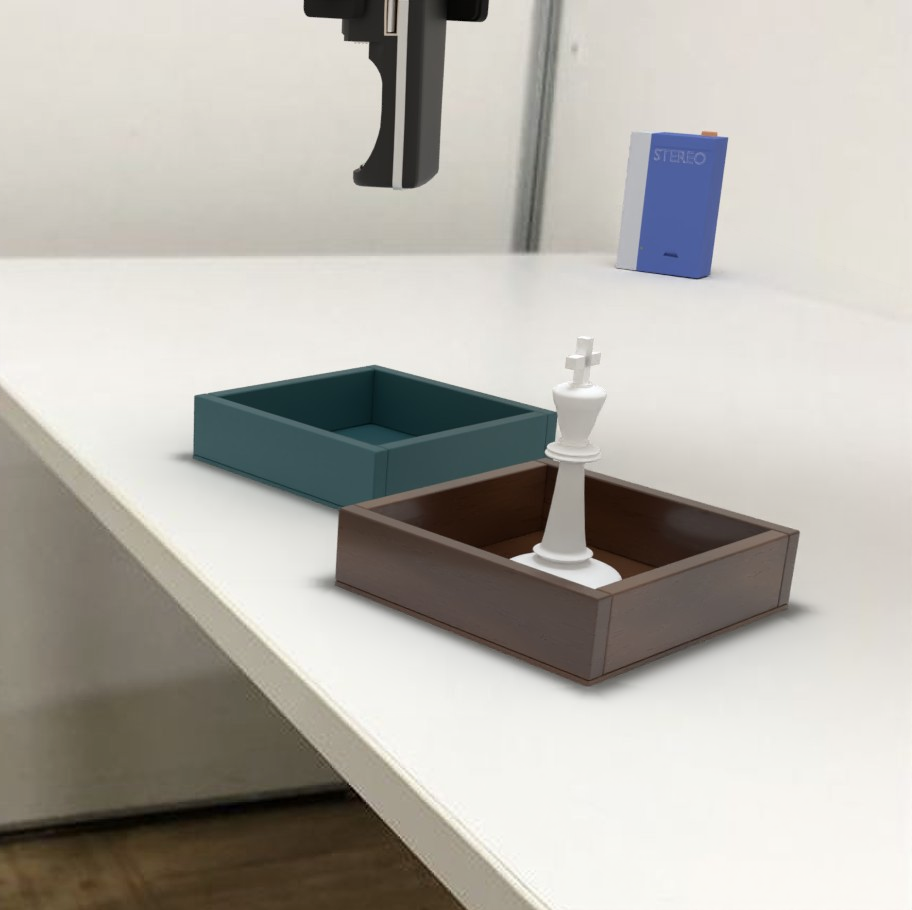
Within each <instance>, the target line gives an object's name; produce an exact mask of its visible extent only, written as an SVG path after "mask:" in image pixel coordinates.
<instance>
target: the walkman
mask: <svg viewBox="0 0 912 910" xmlns="http://www.w3.org/2000/svg"><path fill="white" fill-rule="evenodd" d="M728 144H729V137H728V136H719V135H718V131H711V130H710V131H709V130H708V131H707V130H702V131H701V132H700V134H695V133H682V132H669V131H660V130H659V131H657V130H647V129H646V130H634V131H631V133H630V143H629V148H628V150H629V151H628V159H627V167H626V177H625V181H624V189H623V190H624V191H623V199H622V200H623V201H622V209H621V218H620V225H619V237H618V246H617V255H616V262H615V263H616V264H615V268H616V269H623V270H631V271H636V272H645V273H653V274H661V275H667V276H677V277H684V278H692V279H700V278H705V277H707V276H710V275H711V273H712V272H711V271H712V263H713V256H714V251H715V250H714V248H715V241H716V235H717V234H716V233H717V225H718V219H719V212H720V203H721V197H722V188H723V181H724V174H725V168H726V167H725V166H726V160H727V159H726V158H727V150H728Z"/></svg>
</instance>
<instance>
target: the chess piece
mask: <svg viewBox="0 0 912 910" xmlns="http://www.w3.org/2000/svg"><path fill="white" fill-rule="evenodd" d="M594 339H595V338H594V337H591V336H585V335H583V336H578V337H576V347H575V354H572V355H568V356H565V365H564V369H566V370H572V371H573V375H572V379H571V380H569V381H566V382H561V383H559V384H556V385H555V386H554V387H553V388H552V398H553V404H554V406H555V412H557V415H558V418H557V424H558V426H559V431H560V434H561V437H559V439H558V440H557V441H556V440H555V442H552V443H550V444H548V445H547V449H546V450H545V454H546V455H547V456H548V457H550V458H552V459H553V460H555V461H559V462H560V464H559V470H558V474H557V479H556V485H555V490H554V495H553V499H552V504H551V508H550V512H549V516H548V520H547V525H546V529H545V532H544V536H543V539H542V542H541V543H539V544H537V545H535V546H534V547H533V551H534V552H535V553H528V554H523V555H519V556H516V557H513V558H511V559H510V560H513V561H515V562H518V563H521V564H524V565H527V566H530V567H533V568H536V569H538V570H541V571H544V572H547V573H550V574H553V575H556V576H558V577H561V578H564V579H567V580H570V581H573V582H576V583H579V584H581V585H584V586H587V587H590V588H593V589H596V588H599V587H602V586H605V585H608V584H611V583H614V582H617V581H620V580H622V578H621V576H620V574H619V573H618V572H617V571H616V570H615V569H613V568H612V567H611V566H609V565H607V564H605V563H603V562H601V561H598V560H596V559H593V558H591V557H592V556H593V552H592V551H591V550H590V549H589V548H587V547H586V541H585V515H584V469H585V465H586V464H589V463H594V462H597V461H599V460H601V458H602V457H603V456H602V454H601V449H600V447H598V445H595V444H592V443H591V441H590V440H589V438H590V435H591V433H592V431H593V429H594V427H595V425H596V421H597V419H598V416H599V415H600V412H601V410H602V408H603V406H604V404H605V402H606V400H607V395H608V393H607V391H606V390H605V389H604V388H603V387H601V386H600V385H598V384H594V383H593V382H592V381H590V376H591V369H592V367H594V366H598V365H600V364H601V357H602V356H601V355H602V353H601V352H600V351H595V350H594V349H593V348H594Z"/></svg>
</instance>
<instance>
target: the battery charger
mask: <svg viewBox="0 0 912 910" xmlns="http://www.w3.org/2000/svg"><path fill="white" fill-rule="evenodd" d="M447 4H448V0H365V7H364V13H363V15H362V16H361V17H360V18H359V19H356V20H353V19H341V34H342V35H343V42H352V43H353V44H355V45H356V44H362V45H364V44H366V45H367V44H368V60H370V61H371V63H373V65H374V66H375V68H376V69H377V71H378V73H379V76H380V79H381V111H380V123H379V124H380V125H379V129H378V134H377V137H376V140H375V143H374V146H373V149H372V151H371V153H370V155H368V156H369V157H368V158H367V160H366V161H365V162H364V163H361V164H359V167H358V168H356V169H354V170H353V171H352V180H353V183H354V184H355V186H358V187H366V188H381V189H382V188H384V189H392V190H393V191H407V190H412V189H416V188H421V186H424V185H426V184H428V183H429V182H430V181H432V180H433V178H435V176H436V175H437V174H438V173H439V169H440V152H441V132H442V131H441V130H442V112H443V111H442V110H443V94H444V80H445V79H444V77H445V75H444V74H445V61H446V59H445V58H446V41H447V40H446V39H447V24H448V23H447Z"/></svg>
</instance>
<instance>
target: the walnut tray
mask: <svg viewBox="0 0 912 910" xmlns="http://www.w3.org/2000/svg"><path fill="white" fill-rule="evenodd" d="M559 464H560V461H558V460H555V459H553V460H552V459H548V458H542V459H538V460H535V461H530V462H526V463H522V464H517V465H513V466H509V467H505V468H501V469H497V470H493V471H489V472H485V473H480V474H476V475H472V476H468V477H464V478H460V479H456V480H452V481H448V482H444V483H439V484H435V485H431V486H427V487H423V488H419V489H415V490H411V491H407V492H403V493H398V494H394V495H390V496H386V497H382V498H378V499H374V500H370V501H366V502H362V503H357V504H354V505H349V506H345V507H341V508H339V510H338V515H337V516H338V518H337V536H336V539H337V541H336V557H335V573H334V579H335V581H334V586H336V587H338V588H341V589H344V590H346V591H349V592H351V593H354V594H356V595H358V596H361V597H363V598H366V599H369V600H371V601H373V602H376V603H379V604H381V605H383V606H385V607H389V608H391V609H393V610H396V611H398V612H400V613H403V614H405V615H408V616H411V617H413V618H416V619H418V620H421V621H423V622H426V623H428V624H430V625H433V626H436V627H438V628H441V629H443V630H445V631H448V632H451V633H452V634H456V635H458V636H460V637H463V638H464V639H465V638H466V639H468V640H470V641H473V642H475V643H478V644H480V645H482V646H485V647H488V648H490V649H492V650H495V651H497V652H500V653H503V654H505V655H508V656H509V657H510V656H511V657H513V658H515V659H517V660H520V661H523V662H525V663H528V664H530V665H533V666H535V667H537V668H540V669H542V670H545V671H547V672H549V673H553V674H555V675H558V676H560V677H562V678H565V679H568V680H570V681H571V682H572V681H573V682H575V683H577V684H579V685H582V686H585V687H592V686H594V685H596V684H599V683H602V682H604V681H607V680H609V679H611V678H614V677H617V676H619V675H622V674H625V673H627V672H630V671H632V670H634V669H637V668H640V667H642V666H645V665H647V664H650V663H652V662H655V661H658V660H660V659H663V658H665V657H669V656H670V655H673V654H676V653H678V652H681V651H683V650H685V649H688V648H690V647H694V646H696V645H698V644H700V643H701V644H702V643H703V642H706V641H709V640H712V639H714V638H716V637H719V636H721V635H723V634H726V633H729V632H732V631H734V630H737V629H739V628H741V627H744V626H746V625H749V624H751V623H752V624H753V623H754V622H757V621H759V620H762V619H764V618H767V617H769V616H772V615H775V614H778V613H780V612H782V611H785V610H788V609H789V604H788V603H789V601H790V596H791V590H792V585H793V584H792V583H793V578H794V571H795V565H796V559H797V553H798V548H799V547H798V546H799V541H800V534H801V531H800V530H798V529H795V528H791V527H789V526H785V525H782V524H778V523H775V522H771V521H767V520H763V519H761V518H756V517H753V516H750V515H747V514H743V513H740V512H736V511H732V510H730V509H726V508H722V507H718V506H715V505H711V504H708V503H706V502H705V503H704V502H702V501H698V500H694V499H691V498H687V497H684V496H680V495H677V494H673V493H670V492H666V491H663V490H659V489H656V488H652V487H649V486H647V485H642V484H639V483H635V482H631V481H628V480H625V479H622V478H618V477H614V476H611V475H607V474H604V473H600V472H597V471H594V470H590V469H587V468H584V515H585V541H586V547H587V548H589V549H590V550H591V551H592V552H593V556H592V557H591V558H593V559H596V560H598V561H601V562H603V563H605V564H607V565H609V566H611V567H612V568H613V569H615V570H616V571H617V572H618V573H619V574H620V576H621V578H622V580H620V581H617V582H614V583H611V584H608V585H605V586H602V587H599V588H596V589H593V588H590V587H587V586H584V585H581V584H579V583H576V582H573V581H570V580H567V579H564V578H561V577H558V576H556V575H553V574H550V573H547V572H544V571H541V570H538V569H536V568H533V567H530V566H527V565H524V564H521V563H518V562H515V561H513V560H510V559H511V558H513V557H516V556H519V555H523V554H528V553H535V552H534V551H533V547H534V546H535V545H537V544H539V543H541V542H542V539H543V536H544V532H545V529H546V525H547V520H548V516H549V512H550V508H551V504H552V499H553V495H554V490H555V485H556V479H557V474H558V470H559Z"/></svg>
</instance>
